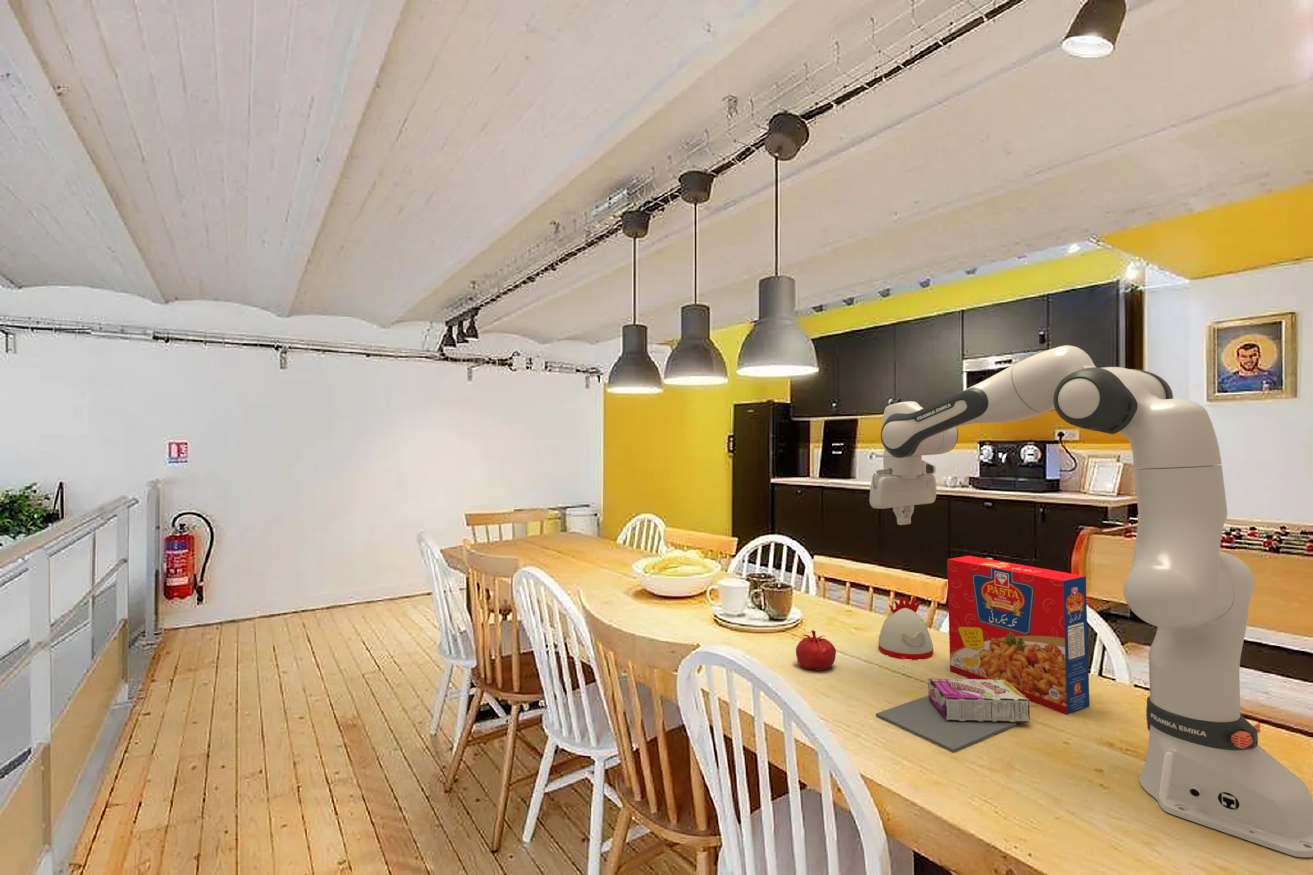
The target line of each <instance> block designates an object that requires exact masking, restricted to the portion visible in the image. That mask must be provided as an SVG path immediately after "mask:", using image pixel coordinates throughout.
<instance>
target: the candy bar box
mask: <svg viewBox="0 0 1313 875" xmlns="http://www.w3.org/2000/svg"><path fill="white" fill-rule="evenodd" d="M927 689H928V695H929V700H930V701H931V702H932V704H933V705H934V706H935V708H936V709H937V710H938V711H939V713H940V714H941V715H942V716H943V718H944V719H945V720H946V721H981V722H1016V723H1029V724H1030V722H1031V719H1030V718H1031V716H1030V715H1031V714H1030V713H1031V712H1030V701H1029V699H1027V698H1026V697H1025V696H1024V695H1023V694H1021V693H1020V692H1019V691H1018V690H1017V689H1016V688H1014V687H1013V686H1012V685H1011V684H1010V683H1009V682H1007V681H1006V680H1005V679H1004V680H999V679H969V678H966V679H965V678H928V679H927Z"/></svg>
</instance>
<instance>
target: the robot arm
mask: <svg viewBox="0 0 1313 875" xmlns="http://www.w3.org/2000/svg"><path fill="white" fill-rule="evenodd" d="M1054 409H1055V412H1056V414H1057V415H1058V416H1059V417H1060V418H1061V419H1062V420H1063V421H1064V422H1066V423H1067V424H1069V425H1071V426H1074V427H1077V428H1080V429H1083V430H1087V431H1093V432H1098V433H1104V434H1108V435H1115V434H1117V433H1120V434H1122V435H1123V436H1124V437H1125V438H1127V440H1128V442H1129V444H1130V447H1131V453H1132V460H1133V472H1134V473H1133V474H1134V482H1135V490H1136V503H1137V513H1138V514H1137V527H1136V537H1135V542H1134V550H1133V556H1132V563H1131V564H1132V565H1131V568H1130V570H1129V572H1128V575H1127V577H1126V578H1125V581H1124V584H1123V595H1124V599H1125V602H1126V604H1127V606H1128V607H1129V609H1130V610H1131V611H1132V613H1134V615H1136V616H1137V617H1138V618H1140V619H1141V620H1142V621H1143V622H1145V623H1147V624H1149V625H1152V626H1154V627H1157V630H1156V633H1155V637H1154V639H1153V641H1152V644H1151V646H1150V647H1149V651H1148V677H1149V678H1148V680H1149V681H1148V682H1149V696H1148V697H1147V698H1146V709H1145V713H1146V714H1145V715H1146V716H1145V717H1146V724H1147V725H1146V727H1147V730H1148V732H1149V734H1148V745H1147V752H1146V756H1145V757H1146V758H1145V762H1144V766H1143V768H1142V772H1141V774H1140V777H1139V782H1140V783H1139V784H1140V786H1142V787H1143V788H1142V789H1144V790H1145V791H1146V792H1147V793H1148V794H1149V795H1151V796H1152V797H1153V799H1155V800H1156V801H1157V802H1158V804H1159V806H1160V808H1161V809H1162V810H1163V811H1164V812H1166V813H1168V814H1171V815H1173V816H1176V817H1179V818H1182V819H1185V820H1188V821H1190V822H1193V823H1196V824H1199V825H1202V826H1205V827H1208V828H1210V829H1214V830H1216V831H1220V832H1222V833H1225V834H1228V835H1231V836H1235V837H1236V838H1240V839H1243V840H1246V841H1249V842H1251V843H1254V844H1256V845H1260V846H1263V847H1266V848H1269V849H1271V850H1274V851H1277V852H1281V853H1284V854H1287V855H1289V856H1293V857H1296V858H1313V798H1312V794H1311V792H1310V790H1309V788H1308V786H1307V785H1306V783H1305V782H1304V781H1303V780H1302V779H1301V778H1300V777H1298V776H1297V775H1296V774H1295V773H1293V771H1291V770H1290V769H1288V768H1287V767H1286V766H1284V765H1283V764H1282V763H1280V761H1278V760H1277V759H1276V758H1275V757H1273V756H1272V755H1271V754H1270V753H1269V752H1267V751H1266V750H1265V749H1263V748H1262V747H1261V746H1260V745H1259V733H1261V723H1256V724H1255V725H1253V724H1251V723H1250V722H1249V721H1248V720H1247V719H1246V718H1245V717H1244V716H1243V714H1241V700H1240V699H1241V691H1240V688H1241V687H1240V682H1241V681H1240V667H1241V666H1240V665H1241V658H1242V650H1243V646H1244V642H1245V641H1244V640H1245V635H1246V631H1247V629H1246V628H1247V625H1248V624H1247V623H1248V616H1249V609H1250V608H1249V607H1250V602H1251V598H1253V597H1252V596H1253V594H1254V591H1255V588H1256V582H1255V577H1254V574H1253V573H1252V571H1251V569H1250V568H1249V566H1248V565H1247V564H1246V563H1245V562H1244V561H1243V560H1241V559H1240V558H1239V557H1237V556H1235V555H1233V554H1231V553H1229V552H1224V551H1222V550H1221V542H1222V541H1221V540H1222V534H1223V529H1224V525H1225V523H1226V520H1227V517H1228V507H1227V498H1226V490H1225V481H1224V480H1225V479H1224V472H1223V465H1222V464H1223V463H1222V458H1221V451H1220V448H1219V442H1218V438H1217V436H1216V431H1215V428H1214V426H1213V422H1212V419H1211V417H1210V415H1209V413H1208V411H1207V409H1206V408H1205V407H1204V406H1203V405H1201V404H1200V403H1198V402H1195V401H1193V400H1188V399H1183V398H1174V393H1173V391H1172V388H1171V386H1170V385H1169V383H1168V382H1167V381H1166V380H1165V379H1163V378H1162V377H1160V376H1159V375H1157V374H1156V373H1153V372H1151V371H1148V370H1142V369H1136V368H1134V369H1133V368H1130V369H1129V368H1125V367H1122V366H1121V367H1120V366H1106V367H1097V366H1096V365H1095V364H1094V361H1093V359H1092V358H1091V357H1090V355H1089V354H1088V353H1087V352H1086V351H1085V350H1083V349H1081V348H1080V347H1078V346H1074V345H1069V344H1067V345H1066V344H1065V345H1060V346H1057V347H1054V348H1049V349H1047V350H1044V351H1041V352H1038V353H1036V354H1034V355H1031V356H1029V357H1026V358H1025V359H1022V360H1021V361H1018V362H1017V363H1014V364H1012V365H1010V366H1009V367H1007V368H1005V369H1003V370H1001V371H999V372H998V373H995V374H994V375H993V374H992V376H990V377H988V378H986V379H984V380H982V381H980V382H979V383H976V384H973V385H971V386H970V387H968V388H966V389H964V390H962V391H960V392H957V393H955V394H953V395H951V396H947V397H946V398H943V399H941V400H939V401H937V402H935V403H932V404H930V405H928V406H925V407H923V406H921V405H920V404H919V403H918V402H917V401H913V400H903V401H896V402H893V403H890V404H888V405H887V406H886V407H885V409H884V412H883V415H882V427H881V429H880V440H881V444H882V445H883V448H884V449H883V454H882V466H883V467H882V468H883V469H876V471H875V472H874V473H873V475H872V476H871V478H872V479H871V482H870V486H869V487H870V491H869V505H870V506H871V508H872V509H881V510H882V509H891V508H892V512H893V513H894V514H895V517H896V523H897V525H899V526H904V525H910V524H912V515H913V514H914V510H915V506H916V505H917V506H918V505H928V504H933V503H934V502H935V501H936V498H937V481H936V477H935V476H934V474H936V472H937V467H936V465H935V464H932V463H930V462H928V461H926V460H923V459H922V458H923V457H922V456H932V455H933V456H934V455H943V454H946V453H949V452H951V451H952V450H953V449H954V447H955V446H956V445H957V442H958V439H959V430H958V427H962V426H966V425H973V424H988V423H990V424H991V423H992V424H993V423H1012V422H1018V421H1022V420H1027V419H1031V418H1034V417H1038V416H1039V415H1040V416H1041V415H1042V414H1044V413H1046V412H1050V411H1052V410H1054Z"/></svg>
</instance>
